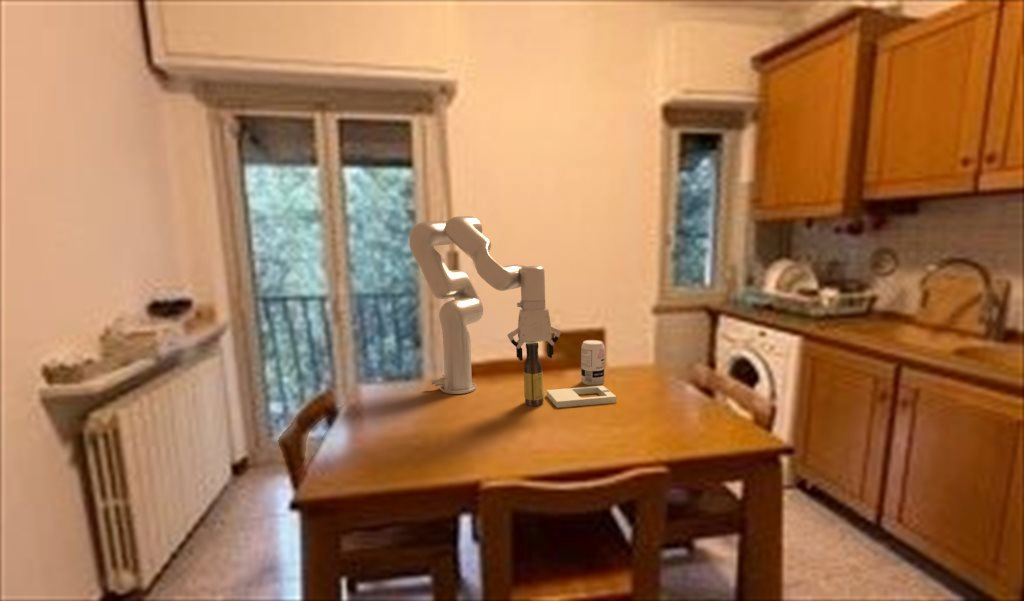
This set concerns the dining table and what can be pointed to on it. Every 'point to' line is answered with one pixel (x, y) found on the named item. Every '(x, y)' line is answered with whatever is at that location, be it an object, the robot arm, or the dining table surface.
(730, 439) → the dining table surface
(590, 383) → the supplement can
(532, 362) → the sauce bottle
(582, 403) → the board
